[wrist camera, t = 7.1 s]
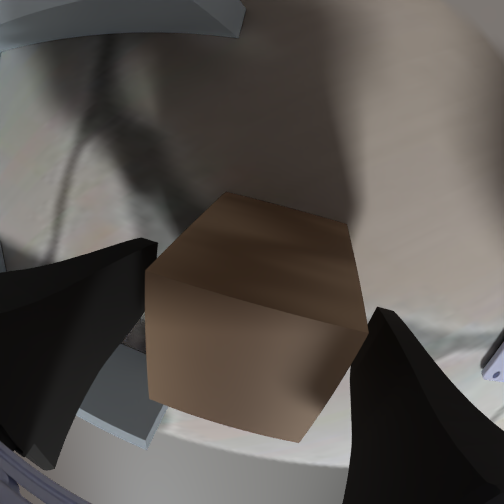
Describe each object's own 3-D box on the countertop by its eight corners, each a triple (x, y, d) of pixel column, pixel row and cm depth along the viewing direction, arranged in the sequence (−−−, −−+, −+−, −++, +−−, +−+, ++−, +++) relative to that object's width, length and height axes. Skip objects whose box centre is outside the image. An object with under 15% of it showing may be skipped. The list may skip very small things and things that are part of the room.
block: (346, 223, 11) (368, 332, 6) (311, 320, 13) (299, 442, 8) (226, 191, 11) (145, 270, 6) (209, 291, 13) (149, 398, 8)
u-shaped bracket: (246, 8, 8) (193, -55, 4) (181, 380, 16) (146, 450, 12) (-5, 35, 9) (-71, 40, 5) (3, 293, 18) (-39, 329, 13)
